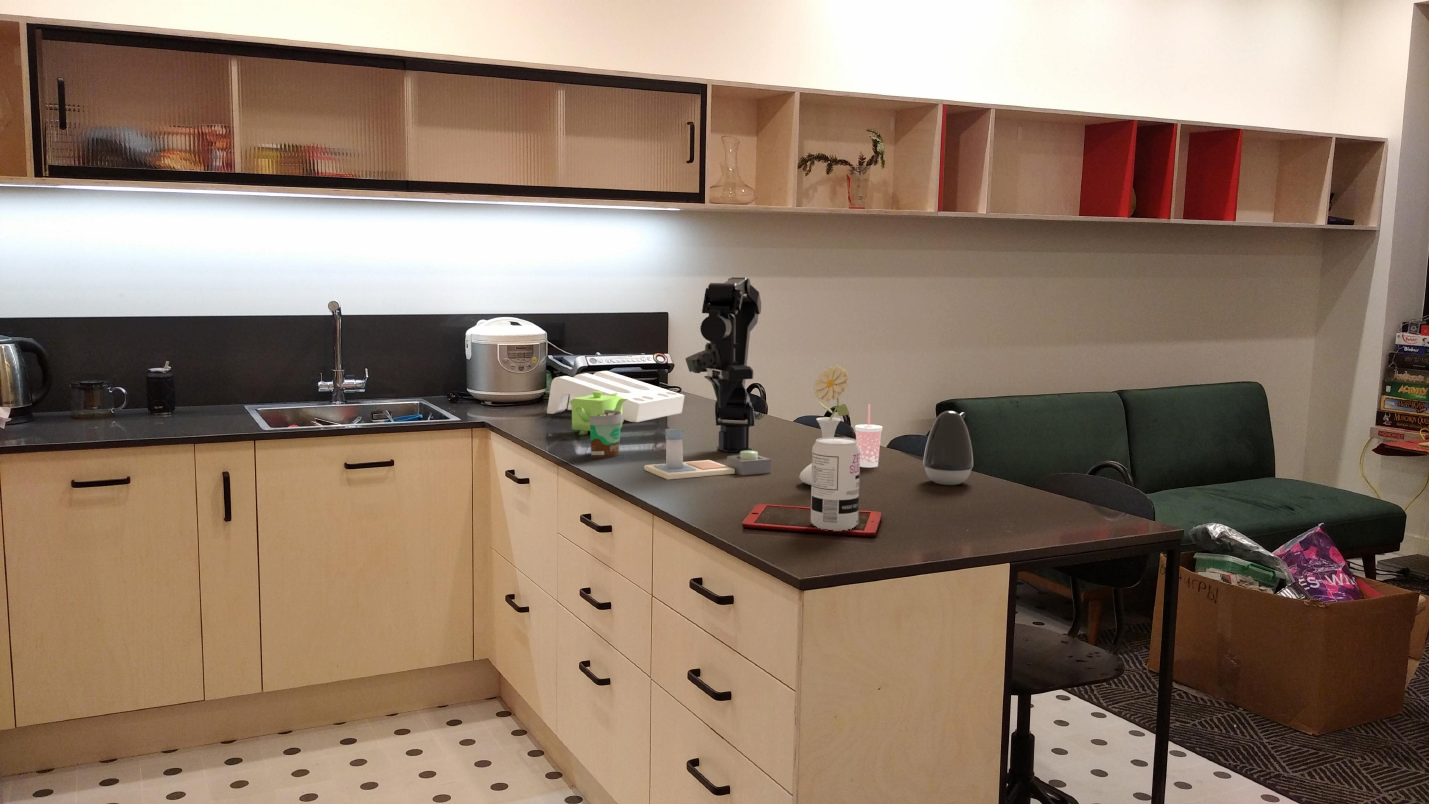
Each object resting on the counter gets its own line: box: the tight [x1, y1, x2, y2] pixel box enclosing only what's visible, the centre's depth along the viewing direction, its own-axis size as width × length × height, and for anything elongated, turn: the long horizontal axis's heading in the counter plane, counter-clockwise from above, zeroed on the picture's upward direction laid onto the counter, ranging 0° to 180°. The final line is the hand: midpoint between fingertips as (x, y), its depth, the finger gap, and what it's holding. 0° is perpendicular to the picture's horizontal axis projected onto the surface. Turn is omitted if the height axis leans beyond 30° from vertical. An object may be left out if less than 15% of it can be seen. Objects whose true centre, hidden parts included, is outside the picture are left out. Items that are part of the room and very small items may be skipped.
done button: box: [739, 450, 759, 460], centre depth 236 cm, size 4×4×4 cm
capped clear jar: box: [665, 427, 684, 469], centre depth 233 cm, size 4×4×8 cm
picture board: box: [643, 459, 736, 480], centre depth 235 cm, size 16×12×1 cm
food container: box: [589, 410, 625, 459], centre depth 254 cm, size 12×6×10 cm, turn 168°
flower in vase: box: [798, 365, 851, 486], centre depth 220 cm, size 13×11×25 cm
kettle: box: [568, 391, 628, 436], centre depth 287 cm, size 15×14×11 cm
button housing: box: [726, 454, 772, 476], centre depth 236 cm, size 7×7×3 cm
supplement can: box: [810, 436, 861, 532], centre depth 187 cm, size 8×8×15 cm
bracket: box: [546, 370, 686, 423], centre depth 326 cm, size 24×12×32 cm
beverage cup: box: [854, 403, 883, 468], centre depth 244 cm, size 6×6×14 cm
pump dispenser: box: [922, 410, 974, 486], centre depth 226 cm, size 10×10×15 cm
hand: (721, 407), depth 246 cm, fingers closed
